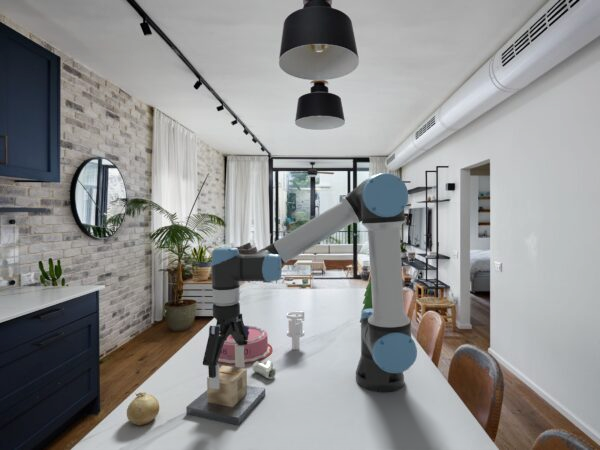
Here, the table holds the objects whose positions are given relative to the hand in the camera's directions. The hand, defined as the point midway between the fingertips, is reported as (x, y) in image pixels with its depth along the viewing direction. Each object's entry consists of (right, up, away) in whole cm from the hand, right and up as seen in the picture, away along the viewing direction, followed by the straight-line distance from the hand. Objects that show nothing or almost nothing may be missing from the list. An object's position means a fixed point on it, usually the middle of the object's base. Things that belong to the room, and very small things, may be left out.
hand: (228, 376), depth 101 cm
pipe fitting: (+10, -8, +19) cm, 23 cm away
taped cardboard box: (0, -6, 0) cm, 6 cm away
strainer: (+19, -6, +41) cm, 46 cm away
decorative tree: (+51, -6, +50) cm, 71 cm away
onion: (-21, -9, -7) cm, 24 cm away
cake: (-3, -7, +39) cm, 40 cm away
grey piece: (0, -8, 0) cm, 8 cm away
